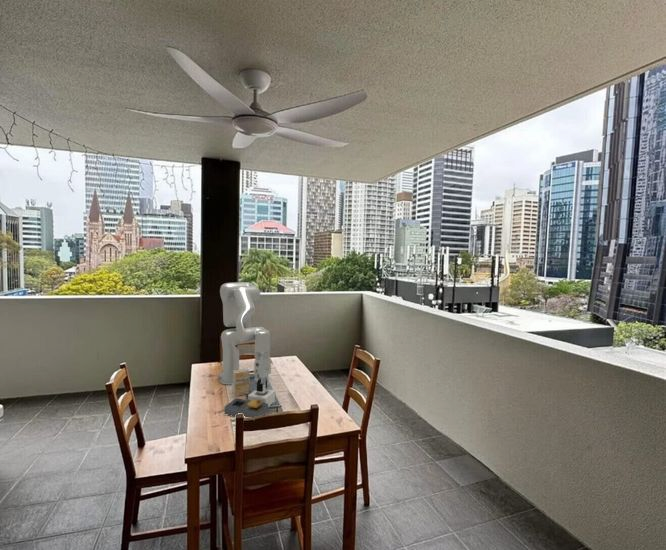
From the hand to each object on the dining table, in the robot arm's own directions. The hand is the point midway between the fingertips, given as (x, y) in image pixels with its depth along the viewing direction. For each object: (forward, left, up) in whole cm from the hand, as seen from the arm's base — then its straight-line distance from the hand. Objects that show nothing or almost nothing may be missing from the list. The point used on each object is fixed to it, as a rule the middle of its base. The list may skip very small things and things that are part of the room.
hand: (261, 389), depth 173 cm
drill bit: (0, 0, -5) cm, 5 cm away
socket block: (-2, -11, -8) cm, 14 cm away
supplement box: (-17, +8, -8) cm, 20 cm away
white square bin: (0, 0, -8) cm, 8 cm away
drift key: (+2, -11, -7) cm, 13 cm away
